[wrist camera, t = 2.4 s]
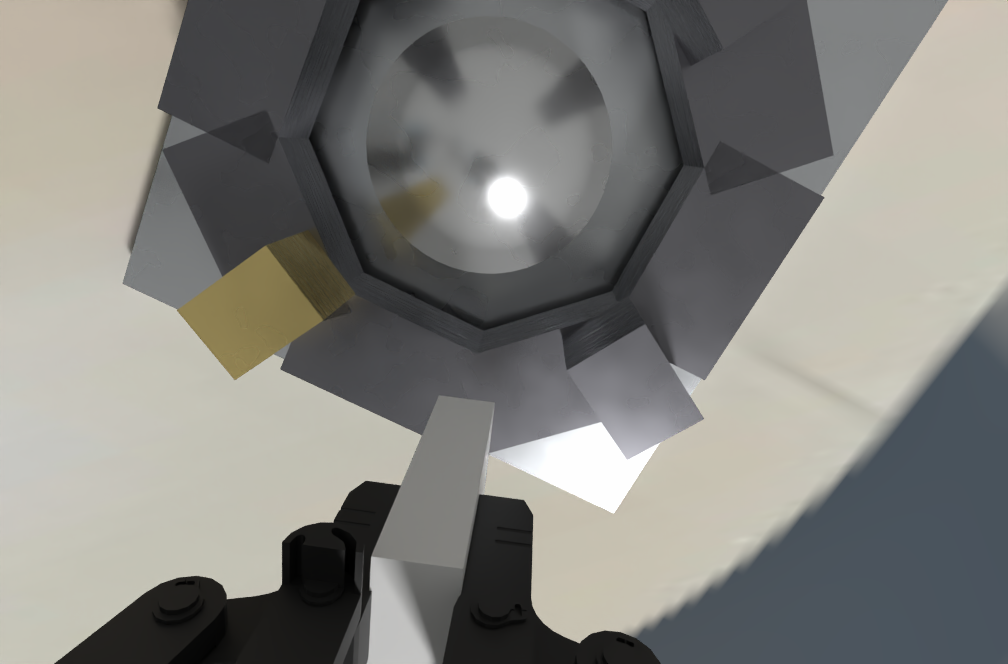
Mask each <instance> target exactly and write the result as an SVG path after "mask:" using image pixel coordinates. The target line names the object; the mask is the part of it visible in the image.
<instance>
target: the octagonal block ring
mask: <svg viewBox="0 0 1008 664" xmlns="http://www.w3.org/2000/svg"><path fill="white" fill-rule="evenodd" d="M626 1H627V2H629V3H631V4H633V5H635V6H636V7H638V8H640V9H642V10H644V11H645V12H647V16H648V21H649V25H650V29H651V33H652V37H653V41H654V45H655V49H656V53H657V58H658V62H659V66H660V70H661V74H662V78H663V82H664V86H665V91H666V95H667V99H668V103H669V107H670V111H671V115H672V119H673V124H674V128H675V132H676V136H677V140H678V144H679V148H680V152H681V156H682V161H683V165H684V166H683V167H682V169H681V171H680V173H679V174H678V176H677V178H676V180H675V181H674V183H673V185H672V187H671V188H670V190H669V192H668V194H667V195H666V197H665V199H664V201H663V202H662V204H661V206H660V208H659V209H658V211H657V213H656V215H655V216H654V218H653V220H652V222H651V223H650V225H649V227H648V229H647V230H646V232H645V234H644V236H643V237H642V239H641V241H640V243H639V244H638V246H637V248H636V250H635V251H634V253H633V255H632V257H631V258H630V260H629V262H628V264H627V266H626V267H625V269H624V271H623V273H622V274H621V276H620V278H619V280H618V281H617V283H616V285H615V287H614V288H613V290H612V291H611V292H608V293H604V294H601V295H598V296H595V297H591V298H588V299H585V300H582V301H579V302H575V303H572V304H569V305H566V306H562V307H559V308H556V309H553V310H549V311H546V312H543V313H540V314H537V315H533V316H530V317H527V318H524V319H520V320H517V321H514V322H511V323H507V324H504V325H501V326H498V327H495V328H491V329H488V330H485V331H483V330H481V329H479V328H477V327H475V326H473V325H471V324H469V323H467V322H465V321H463V320H461V319H458V318H456V317H454V316H452V315H450V314H448V313H446V312H444V311H442V310H440V309H438V308H436V307H434V306H432V305H430V304H428V303H426V302H424V301H422V300H419V299H417V298H415V297H413V296H411V295H409V294H407V293H405V292H403V291H401V290H399V289H397V288H395V287H393V286H391V285H389V284H387V283H385V282H383V281H380V280H378V279H376V278H374V277H372V276H370V275H368V274H366V273H364V272H363V270H362V267H361V265H360V262H359V260H358V257H357V255H356V252H355V250H354V248H353V245H352V243H351V240H350V238H349V235H348V233H347V230H346V228H345V225H344V223H343V221H342V218H341V216H340V213H339V211H338V208H337V206H336V203H335V201H334V199H333V196H332V194H331V191H330V189H329V186H328V184H327V181H326V179H325V177H324V174H323V172H322V169H321V167H320V164H319V162H318V159H317V157H316V154H315V152H314V150H313V147H312V145H311V142H310V140H309V137H310V134H311V131H312V129H313V126H314V123H315V121H316V118H317V115H318V113H319V110H320V107H321V104H322V102H323V99H324V96H325V94H326V91H327V88H328V86H329V83H330V80H331V77H332V75H333V72H334V69H335V67H336V64H337V61H338V58H339V56H340V53H341V50H342V48H343V45H344V42H345V40H346V37H347V34H348V31H349V29H350V26H351V23H352V21H353V18H354V15H355V13H356V10H357V7H358V4H359V2H360V0H188V3H187V7H186V10H185V14H184V17H183V21H182V24H181V28H180V31H179V35H178V38H177V42H176V45H175V49H174V52H173V56H172V59H171V63H170V66H169V70H168V73H167V77H166V80H165V83H164V87H163V90H162V94H161V97H160V101H159V104H158V109H160V110H162V111H164V112H166V113H168V114H170V115H172V116H174V117H176V118H178V119H180V120H182V121H184V122H186V123H188V124H190V125H192V126H194V127H196V128H198V129H200V130H202V131H204V132H206V133H204V134H201V135H199V136H196V137H193V138H191V139H188V140H186V141H183V142H180V143H178V144H175V145H173V146H170V147H168V148H165V149H162V151H163V153H164V155H165V158H166V160H167V162H168V164H169V166H170V168H171V170H172V172H173V174H174V176H175V178H176V181H177V183H178V185H179V187H180V189H181V191H182V193H183V195H184V197H185V199H186V202H187V204H188V206H189V208H190V210H191V212H192V214H193V216H194V218H195V220H196V222H197V225H198V227H199V229H200V231H201V233H202V235H203V237H204V239H205V241H206V243H207V246H208V248H209V250H210V252H211V254H212V256H213V258H214V260H215V262H216V264H217V266H218V269H219V271H220V273H221V275H222V278H220V279H219V280H218V281H216V282H215V283H213V284H212V285H211V286H209V287H208V288H207V289H205V290H204V291H203V292H201V293H200V294H198V295H197V296H196V297H194V298H193V299H192V300H190V301H189V302H187V303H186V304H185V305H183V306H182V307H181V308H179V309H178V310H177V311H178V312H179V314H180V315H181V316H182V317H183V318H184V320H185V321H186V322H187V323H188V324H189V326H190V327H191V328H192V329H193V330H194V332H195V333H196V334H197V335H198V336H199V338H200V339H201V340H202V341H203V342H204V344H205V345H206V346H207V347H208V348H209V350H210V351H211V352H212V353H213V354H214V356H215V357H216V358H217V359H218V360H219V362H220V363H221V364H222V365H223V366H224V368H225V369H226V370H227V371H228V372H229V374H230V375H231V376H232V377H233V378H234V380H236V379H237V378H239V377H240V376H242V375H243V374H245V373H246V372H248V371H249V370H251V369H252V368H254V367H255V366H257V365H258V364H260V363H261V362H263V361H264V360H265V359H267V358H268V357H270V356H271V355H273V354H274V353H276V352H277V351H279V350H280V349H282V348H283V347H285V346H286V345H288V344H289V343H291V344H290V346H289V349H288V351H287V354H286V356H285V359H284V361H283V364H282V366H281V370H283V371H285V372H287V373H289V374H291V375H294V376H296V377H298V378H300V379H302V380H304V381H306V382H309V383H311V384H313V385H315V386H317V387H319V388H322V389H324V390H326V391H328V392H330V393H332V394H334V395H337V396H339V397H341V398H343V399H345V400H347V401H349V402H352V403H354V404H356V405H358V406H360V407H362V408H365V409H367V410H369V411H371V412H373V413H375V414H377V415H380V416H382V417H384V418H386V419H388V420H390V421H392V422H395V423H397V424H399V425H401V426H403V427H405V428H408V429H410V430H412V431H414V432H416V433H418V434H420V435H423V432H424V430H425V428H426V425H427V423H428V420H429V418H430V416H431V413H432V411H433V409H434V406H435V404H436V401H437V399H438V397H439V395H440V396H448V397H456V398H464V399H472V400H479V401H487V402H495V405H494V414H493V422H492V431H491V440H490V448H489V453H492V452H495V451H499V450H503V449H506V448H510V447H513V446H517V445H521V444H524V443H528V442H531V441H535V440H539V439H542V438H546V437H549V436H553V435H556V434H560V433H564V432H567V431H571V430H574V429H578V428H582V427H585V426H589V425H592V424H596V423H600V422H602V424H603V425H604V427H605V428H606V430H607V431H608V433H609V434H610V436H611V437H612V439H613V440H614V442H615V443H616V445H617V446H618V448H619V449H620V451H621V452H622V454H623V455H624V457H625V458H626V460H629V459H631V458H633V457H634V456H636V455H638V454H640V453H642V452H644V451H646V450H647V449H649V448H651V447H653V446H655V445H657V444H658V443H660V442H662V441H664V440H666V439H668V438H670V437H671V436H673V435H675V434H677V433H679V432H681V431H683V430H684V429H686V428H688V427H690V426H692V425H694V424H696V423H697V422H699V421H701V420H703V419H704V418H703V416H702V415H701V413H700V411H699V410H698V408H697V407H696V405H695V403H694V402H693V400H692V398H691V397H690V395H689V394H688V392H687V390H686V389H685V387H684V385H683V384H682V382H681V381H680V379H679V377H678V376H677V374H676V373H675V371H674V369H673V368H672V366H671V365H670V363H671V364H673V365H675V366H677V367H679V368H681V369H683V370H685V371H687V372H689V373H691V374H693V375H695V376H697V377H699V378H701V379H703V380H705V379H706V378H707V376H708V374H709V373H710V371H711V370H712V368H713V367H714V365H715V364H716V362H717V361H718V359H719V358H720V356H721V355H722V353H723V352H724V350H725V349H726V347H727V345H728V344H729V342H730V341H731V339H732V338H733V336H734V335H735V333H736V332H737V330H738V329H739V327H740V326H741V324H742V323H743V321H744V320H745V318H746V316H747V315H748V313H749V312H750V310H751V309H752V307H753V306H754V304H755V303H756V301H757V300H758V298H759V297H760V295H761V294H762V292H763V290H764V289H765V287H766V286H767V284H768V283H769V281H770V280H771V278H772V277H773V275H774V274H775V272H776V271H777V269H778V268H779V266H780V265H781V263H782V261H783V260H784V258H785V257H786V255H787V254H788V252H789V251H790V249H791V248H792V246H793V245H794V243H795V242H796V240H797V239H798V237H799V236H800V234H801V232H802V231H803V229H804V228H805V226H806V225H807V223H808V222H809V220H810V219H811V217H812V216H813V214H814V213H815V211H816V210H817V208H818V207H819V205H820V203H821V202H822V200H823V199H824V197H823V196H821V195H819V194H817V193H815V192H814V191H812V190H810V189H808V188H806V187H804V186H802V185H801V184H799V183H797V182H795V181H793V180H791V179H789V178H788V177H786V176H784V175H782V174H780V173H781V172H784V171H787V170H790V169H793V168H797V167H800V166H803V165H806V164H809V163H812V162H815V161H818V160H821V159H824V158H827V157H830V156H833V155H834V154H833V148H832V142H831V137H830V131H829V125H828V119H827V114H826V108H825V102H824V96H823V91H822V85H821V79H820V73H819V68H818V62H817V56H816V50H815V45H814V39H813V33H812V27H811V22H810V16H809V10H808V4H807V0H626Z"/></svg>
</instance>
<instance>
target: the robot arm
mask: <svg viewBox="0 0 1008 664" xmlns="http://www.w3.org/2000/svg"><path fill="white" fill-rule="evenodd" d="M494 405H495V402H487V401H479V400H472V399H464V398H456V397H448V396H440V395H439V397H438V399H437V401H436V404H435V406H434V409H433V411H432V413H431V416H430V418H429V420H428V423H427V425H426V428H425V430H424V432H423V435H422V437H421V439H420V442H419V444H418V446H417V449H416V451H415V454H414V456H413V458H412V461H411V463H410V465H409V468H408V470H407V473H406V475H405V477H404V480H403V482H402V484H401V485H393V484H386V483H378V482H371V481H365V482H364V483H362V484H361V485H359V486H358V487H357V488H355V489H354V490H352V491H351V492H349V494H348V496H347V498H346V500H345V501H344V503H343V505H342V507H341V510H339V512H338V514H337V516H336V517H335V519H334V523H316V524H312V525H307V526H304V527H302V528H300V529H298V530H296V531H294V532H292V533H291V534H290V535H289V536H288V537H287V538H286V539H285V540H284V541H283V542H282V585H281V587H280V589H279V590H278V591H275V592H272V593H269V594H265V595H260V596H253V597H244V598H235V599H227V595H226V593H225V590H224V588H223V586H222V585H221V584H219V583H218V582H216V581H215V580H213V579H211V578H205V577H200V576H191V577H181V578H176V579H173V580H170V581H167V582H164V583H161V584H159V585H158V586H156V587H154V588H153V589H151V590H149V591H148V592H146V593H145V594H143V595H142V596H141V597H139V598H138V599H137V600H136V601H134V602H133V603H132V604H130V605H129V606H128V607H127V608H125V609H124V610H123V611H121V612H120V613H119V614H118V615H116V616H115V617H114V618H112V619H111V620H110V621H109V622H107V623H106V624H105V625H103V626H102V627H101V628H100V629H98V630H97V631H96V632H94V633H93V634H92V635H91V636H89V637H88V638H87V639H85V640H84V641H83V642H82V643H80V644H79V645H78V646H76V647H75V648H74V649H73V650H71V651H70V652H69V653H67V654H66V655H65V656H64V657H62V658H61V659H60V660H58V661H57V662H56V663H55V664H660V662H659V660H658V659H657V658H656V656H655V655H654V654H653V652H652V651H651V649H649V648H648V647H647V646H646V645H644V644H643V643H642V642H640V641H639V640H637V639H636V638H634V637H631V636H629V635H626V634H624V633H621V632H613V631H601V632H597V633H593V634H590V635H589V636H588V637H586V638H585V639H584V640H582V641H581V643H577V642H575V641H572V640H570V639H568V638H565V637H563V636H561V635H559V634H557V633H556V632H554V631H552V630H551V629H550V628H548V627H547V626H546V625H545V624H543V622H542V621H541V620H540V619H539V618H538V616H537V615H536V613H535V611H534V609H533V607H532V601H531V579H532V541H533V535H532V534H533V514H532V512H531V511H530V509H529V507H528V506H527V504H526V502H525V501H524V500H519V499H511V498H504V497H496V496H489V495H484V491H485V483H486V474H487V465H488V457H489V448H490V440H491V431H492V422H493V414H494Z"/></svg>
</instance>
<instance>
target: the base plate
mask: <svg viewBox="0 0 1008 664" xmlns="http://www.w3.org/2000/svg"><path fill="white" fill-rule="evenodd" d="M947 1H948V0H807V4H808V10H809V16H810V22H811V27H812V33H813V39H814V45H815V50H816V56H817V62H818V68H819V73H820V79H821V85H822V91H823V96H824V102H825V108H826V114H827V119H828V125H829V131H830V137H831V142H832V148H833V154H834V155H833V156H830V157H827V158H824V159H821V160H818V161H815V162H812V163H809V164H806V165H803V166H800V167H797V168H793V169H790V170H787V171H784V172H781V173H780V174H782V175H784V176H786V177H788V178H789V179H791V180H793V181H795V182H797V183H799V184H801V185H802V186H804V187H806V188H808V189H810V190H812V191H814V192H815V193H817V194H819V195H821V194H822V193H823V191H824V190H825V188H826V187H827V185H828V184H829V182H830V181H831V179H832V178H833V176H834V174H835V173H836V171H837V170H838V168H839V167H840V165H841V164H842V162H843V161H844V159H845V158H846V156H847V155H848V153H849V151H850V150H851V148H852V147H853V145H854V144H855V142H856V141H857V139H858V138H859V136H860V135H861V133H862V132H863V130H864V128H865V127H866V125H867V124H868V122H869V121H870V119H871V118H872V116H873V115H874V113H875V112H876V110H877V109H878V107H879V106H880V104H881V102H882V101H883V99H884V98H885V96H886V95H887V93H888V92H889V90H890V89H891V87H892V86H893V84H894V83H895V81H896V79H897V78H898V76H899V75H900V73H901V72H902V70H903V69H904V67H905V66H906V64H907V63H908V61H909V60H910V58H911V56H912V55H913V53H914V52H915V50H916V49H917V47H918V46H919V44H920V43H921V41H922V40H923V38H924V37H925V35H926V33H927V32H928V30H929V29H930V27H931V26H932V24H933V23H934V21H935V20H936V18H937V17H938V15H939V14H940V12H941V10H942V9H943V7H944V6H945V4H946V3H947ZM204 133H206V132H204V131H202V130H200V129H198V128H196V127H194V126H192V125H190V124H188V123H186V122H184V121H182V120H180V119H178V118H176V117H174V116H172V118H171V121H170V125H169V128H168V132H167V135H166V138H165V142H164V145H163V148H162V149H165V148H168V147H170V146H173V145H175V144H178V143H180V142H183V141H186V140H188V139H191V138H193V137H196V136H199V135H201V134H204ZM309 140H310V142H311V145H312V147H313V150H314V152H315V154H316V157H317V159H318V162H319V164H320V167H321V169H322V172H323V174H324V177H325V179H326V181H327V184H328V186H329V189H330V191H331V194H332V196H333V199H334V201H335V203H336V206H337V208H338V211H339V213H340V216H341V218H342V221H343V223H344V225H345V228H346V230H347V233H348V235H349V238H350V240H351V243H352V245H353V248H354V250H355V252H356V255H357V257H358V260H359V262H360V265H361V267H362V270H363V272H364V273H366V274H368V275H370V276H372V277H374V278H376V279H378V280H380V281H383V282H385V283H387V284H389V285H391V286H393V287H395V288H397V289H399V290H401V291H403V292H405V293H407V294H409V295H411V296H413V297H415V298H417V299H419V300H422V301H424V302H426V303H428V304H430V305H432V306H434V307H436V308H438V309H440V310H442V311H444V312H446V313H448V314H450V315H452V316H454V317H456V318H458V319H461V320H463V321H465V322H467V323H469V324H471V325H473V326H475V327H477V328H479V329H481V330H483V331H485V330H488V329H491V328H495V327H498V326H501V325H504V324H507V323H511V322H514V321H517V320H520V319H524V318H527V317H530V316H533V315H537V314H540V313H543V312H546V311H549V310H553V309H556V308H559V307H562V306H566V305H569V304H572V303H575V302H579V301H582V300H585V299H588V298H591V297H595V296H598V295H601V294H604V293H608V292H611V291H612V290H613V288H614V287H615V285H616V283H617V281H618V280H619V278H620V276H621V274H622V273H623V271H624V269H625V267H626V266H627V264H628V262H629V260H630V258H631V257H632V255H633V253H634V251H635V250H636V248H637V246H638V244H639V243H640V241H641V239H642V237H643V236H644V234H645V232H646V230H647V229H648V227H649V225H650V223H651V222H652V220H653V218H654V216H655V215H656V213H657V211H658V209H659V208H660V206H661V204H662V202H663V201H664V199H665V197H666V195H667V194H668V192H669V190H670V188H671V187H672V185H673V183H674V181H675V180H676V178H677V176H678V174H679V173H680V171H681V169H682V167H683V166H684V165H683V161H682V156H681V152H680V148H679V144H678V140H677V136H676V132H675V128H674V124H673V119H672V115H671V111H670V107H669V103H668V99H667V95H666V91H665V86H664V82H663V78H662V74H661V70H660V66H659V62H658V58H657V53H656V49H655V45H654V41H653V37H652V33H651V29H650V25H649V21H648V16H647V12H645V11H644V10H642V9H640V8H638V7H636V6H635V5H633V4H631V3H629V2H627V1H626V0H360V2H359V4H358V7H357V10H356V13H355V15H354V18H353V21H352V23H351V26H350V29H349V31H348V34H347V37H346V40H345V42H344V45H343V48H342V50H341V53H340V56H339V58H338V61H337V64H336V67H335V69H334V72H333V75H332V77H331V80H330V83H329V86H328V88H327V91H326V94H325V96H324V99H323V102H322V104H321V107H320V110H319V113H318V115H317V118H316V121H315V123H314V126H313V129H312V131H311V134H310V137H309ZM220 278H222V275H221V273H220V271H219V269H218V266H217V264H216V262H215V260H214V258H213V256H212V254H211V252H210V250H209V248H208V246H207V243H206V241H205V239H204V237H203V235H202V233H201V231H200V229H199V227H198V225H197V222H196V220H195V218H194V216H193V214H192V212H191V210H190V208H189V206H188V204H187V202H186V199H185V197H184V195H183V193H182V191H181V189H180V187H179V185H178V183H177V181H176V178H175V176H174V174H173V172H172V170H171V168H170V166H169V164H168V162H167V160H166V158H165V155H164V153H163V151H162V152H161V155H160V159H159V162H158V165H157V169H156V172H155V175H154V179H153V182H152V186H151V189H150V192H149V196H148V199H147V203H146V206H145V209H144V213H143V216H142V219H141V223H140V226H139V230H138V233H137V236H136V240H135V243H134V246H133V250H132V253H131V257H130V260H129V263H128V267H127V270H126V273H125V277H124V280H123V284H124V285H127V286H129V287H131V288H133V289H135V290H137V291H139V292H142V293H144V294H146V295H148V296H150V297H152V298H154V299H157V300H159V301H161V302H163V303H165V304H167V305H169V306H172V307H174V308H176V309H179V308H181V307H182V306H183V305H185V304H186V303H187V302H189V301H190V300H192V299H193V298H194V297H196V296H197V295H198V294H200V293H201V292H203V291H204V290H205V289H207V288H208V287H209V286H211V285H212V284H213V283H215V282H216V281H218V280H219V279H220ZM290 344H291V343H289V344H288V345H286V346H285V347H283V348H282V349H280V350H279V351H277V352H276V353H274V355H277V356H279V357H281V358H283V359H285V356H286V354H287V351H288V349H289V346H290ZM670 365H671V366H672V368H673V369H674V371H675V373H676V374H677V376H678V377H679V379H680V381H681V382H682V384H683V385H684V387H685V389H686V390H687V392H688V394H689V395H691V394H692V392H693V391H694V389H695V388H696V386H697V385H698V383H699V381H700V380H701V378H699V377H697V376H695V375H693V374H691V373H689V372H687V371H685V370H683V369H681V368H679V367H677V366H675V365H673V364H671V363H670ZM658 444H659V443H658ZM658 444H657V445H655V446H653V447H651V448H649V449H647V450H646V451H644V452H642V453H640V454H638V455H636V456H634V457H633V458H631V459H629V460H626V458H625V457H624V455H623V454H622V452H621V451H620V449H619V448H618V446H617V445H616V443H615V442H614V440H613V439H612V437H611V436H610V434H609V433H608V431H607V430H606V428H605V427H604V425H603V424H602V422H600V423H596V424H592V425H589V426H585V427H582V428H578V429H574V430H571V431H567V432H564V433H560V434H556V435H553V436H549V437H546V438H542V439H539V440H535V441H531V442H528V443H524V444H521V445H517V446H513V447H510V448H506V449H503V450H499V451H495V452H492V453H489V455H491V456H493V457H495V458H497V459H499V460H501V461H504V462H506V463H508V464H510V465H512V466H514V467H516V468H519V469H521V470H523V471H525V472H527V473H529V474H531V475H534V476H536V477H538V478H540V479H542V480H544V481H546V482H549V483H551V484H553V485H555V486H557V487H559V488H561V489H564V490H566V491H568V492H570V493H572V494H574V495H576V496H578V497H581V498H583V499H585V500H587V501H589V502H591V503H593V504H596V505H598V506H600V507H602V508H604V509H606V510H608V511H611V512H613V513H614V512H615V510H616V509H617V507H618V506H619V504H620V503H621V501H622V499H623V498H624V496H625V495H626V493H627V492H628V490H629V489H630V487H631V486H632V484H633V483H634V481H635V480H636V478H637V476H638V475H639V473H640V472H641V470H642V469H643V467H644V466H645V464H646V463H647V461H648V460H649V458H650V457H651V455H652V453H653V452H654V450H655V449H656V447H657V446H658Z"/></svg>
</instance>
